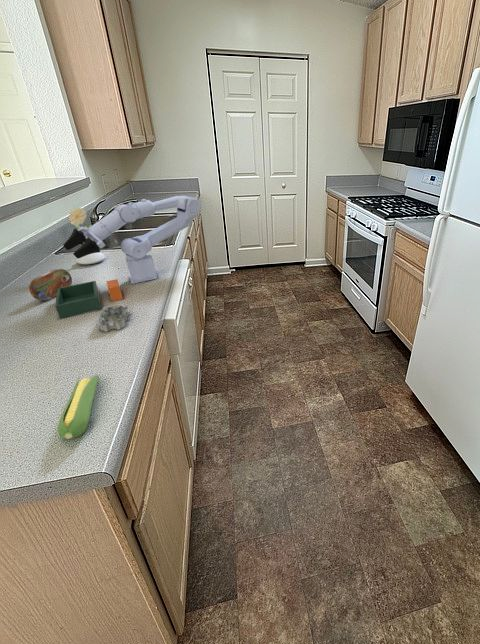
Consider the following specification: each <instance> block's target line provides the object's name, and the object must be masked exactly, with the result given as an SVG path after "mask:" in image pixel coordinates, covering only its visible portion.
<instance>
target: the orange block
mask: <svg viewBox="0 0 480 644" xmlns="http://www.w3.org/2000/svg"><path fill="white" fill-rule="evenodd" d="M106 286H107V291H108V293H109V297H110V300H111V302H114V301H120V300H123V293H122V290H121V286H120V284H119V280H118V279H117V278H115V279H110V280H106Z"/></svg>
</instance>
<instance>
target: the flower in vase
mask: <svg viewBox="0 0 480 644" xmlns="http://www.w3.org/2000/svg"><path fill="white" fill-rule="evenodd" d="M87 216H88V215H87V212H86V210H85V209H84V208H81V207H79V206H77V207H74V208H73V209H71V211H69V213H68V221H69V223H70V224H71V225H73V226H74V227H75V228H76V229H79V228H81V227H82V226H80V225H83V227H87V228H89V227H91V226H90V224H86V223H85V221H86V219H87ZM85 238H86V239H87V237H85ZM83 244H84V243H82V245H83ZM105 258H106V255H105V254H104V253H103V252H101V251H100V252H98V253H92V254H89V255H86V256H84V257H81V258H79V259H77V258H76V263H77V264H79V265H92V264H93V265H94V264H97V263H100V262H102V261H104V260H105Z"/></svg>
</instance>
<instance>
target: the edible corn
mask: <svg viewBox="0 0 480 644" xmlns="http://www.w3.org/2000/svg"><path fill="white" fill-rule="evenodd" d="M80 376H81V375H79V376H78V378H77V380H76V383H75V385H74V388H73V390H72V392H71V395H70V396H69V399H68V401H67V403H66V405H65V407H64V409H63V411H62V414H61V415H60V419H59V422H58V425H57V433H58V435H59V437H60V438H62V439H65V440H66V439H68V440H69V439H74V438H77V437H79V436H81V435H83V434H84V433H85V432H86V431H87V429H88V426H89V423H90V419H91V415H92V410H93V406H94V401H95V395H96V391H97V386H98V383H99V382H98V381H99V374H97V375H93V377H91V378H90V377H84V378H82V379H81V377H80ZM80 379H81V380H80Z"/></svg>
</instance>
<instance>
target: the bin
mask: <svg viewBox="0 0 480 644" xmlns="http://www.w3.org/2000/svg"><path fill="white" fill-rule="evenodd" d="M100 295H101V294H100V291H99V286H98V284H97V281H96V280H92V281H87V282H82V283H77V284H71V286H66V287H61V288H58V289H57V296H56V297H55V305H54V307H55V309H56V312H57V315H58V317H59V320H60V319H64V318H69V317H73V316H78V315H82V314H85V313H90V312H94V311H99V310H101V309H102V303H101V296H100Z"/></svg>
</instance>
